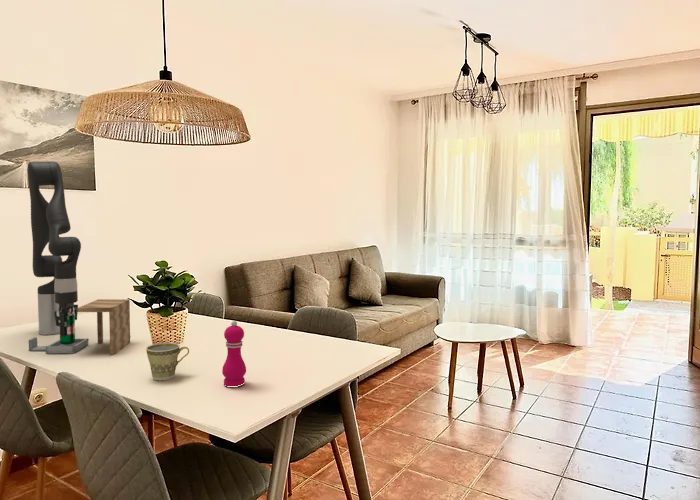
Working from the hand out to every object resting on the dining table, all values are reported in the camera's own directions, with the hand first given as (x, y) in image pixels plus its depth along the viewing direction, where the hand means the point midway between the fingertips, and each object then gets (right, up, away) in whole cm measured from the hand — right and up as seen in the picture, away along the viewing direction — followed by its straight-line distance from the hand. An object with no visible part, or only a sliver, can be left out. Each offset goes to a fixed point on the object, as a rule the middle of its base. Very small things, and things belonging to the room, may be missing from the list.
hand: (67, 334), depth 191 cm
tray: (-4, -5, 0) cm, 7 cm away
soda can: (0, -4, 0) cm, 4 cm away
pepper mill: (+71, -10, -35) cm, 80 cm away
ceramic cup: (+48, -9, -29) cm, 57 cm away
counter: (+13, -6, +2) cm, 15 cm away
